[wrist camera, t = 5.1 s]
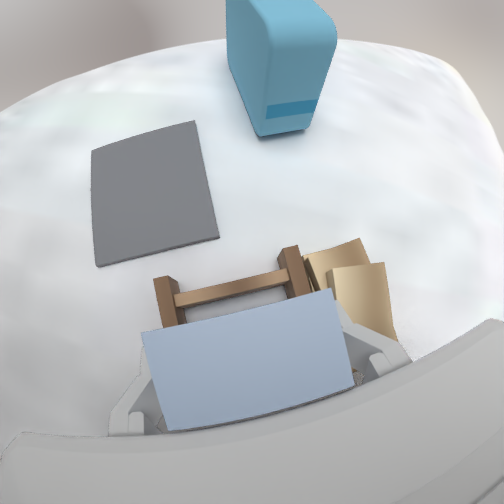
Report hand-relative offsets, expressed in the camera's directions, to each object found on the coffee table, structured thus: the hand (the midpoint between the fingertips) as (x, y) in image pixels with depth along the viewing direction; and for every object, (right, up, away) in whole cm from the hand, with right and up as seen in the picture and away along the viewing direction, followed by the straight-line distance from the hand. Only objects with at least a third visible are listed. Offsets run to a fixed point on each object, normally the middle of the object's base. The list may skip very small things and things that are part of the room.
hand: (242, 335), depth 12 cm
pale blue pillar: (0, -3, +8) cm, 8 cm away
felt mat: (-8, +9, +10) cm, 16 cm away
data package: (+1, +19, +13) cm, 23 cm away
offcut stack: (+7, -1, +9) cm, 11 cm away
